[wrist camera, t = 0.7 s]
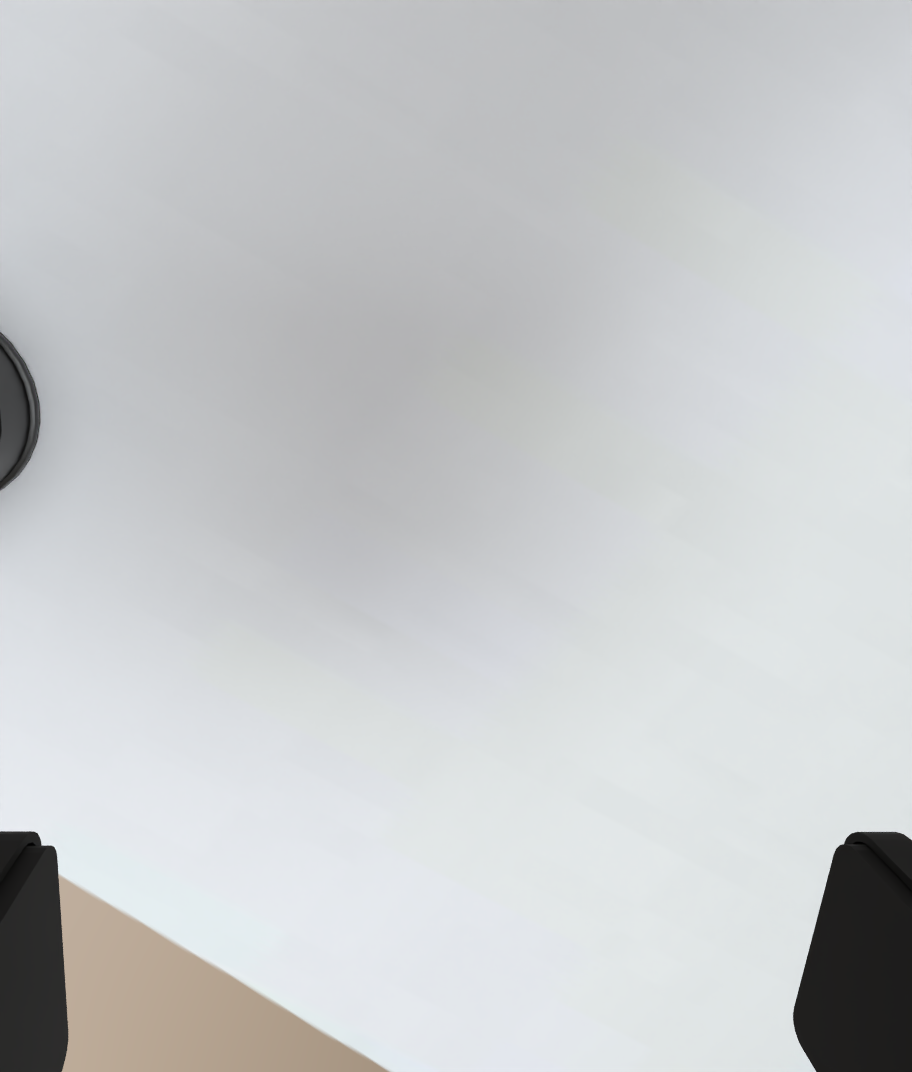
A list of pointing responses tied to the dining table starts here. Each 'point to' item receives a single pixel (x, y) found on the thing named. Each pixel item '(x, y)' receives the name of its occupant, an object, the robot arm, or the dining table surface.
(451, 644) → the dining table surface
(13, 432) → the french press
